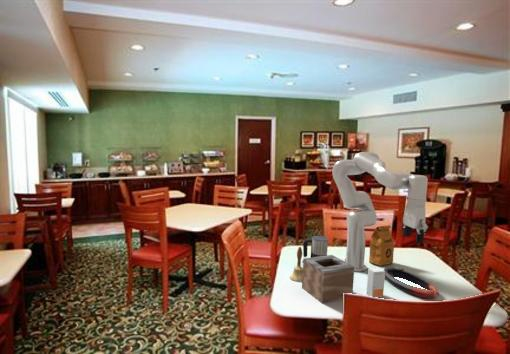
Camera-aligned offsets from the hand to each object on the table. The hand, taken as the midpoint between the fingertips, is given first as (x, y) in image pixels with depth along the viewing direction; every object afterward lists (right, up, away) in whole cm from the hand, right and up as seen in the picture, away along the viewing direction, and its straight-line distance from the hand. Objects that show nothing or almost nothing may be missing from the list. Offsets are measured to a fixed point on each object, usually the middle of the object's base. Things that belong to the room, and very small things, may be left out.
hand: (412, 239), depth 153 cm
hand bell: (-51, -22, +13) cm, 57 cm away
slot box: (-40, -24, -2) cm, 46 cm away
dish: (+1, -25, +7) cm, 26 cm away
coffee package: (0, -21, +38) cm, 43 cm away
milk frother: (-39, -20, +31) cm, 54 cm away
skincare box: (-18, -25, -3) cm, 31 cm away
